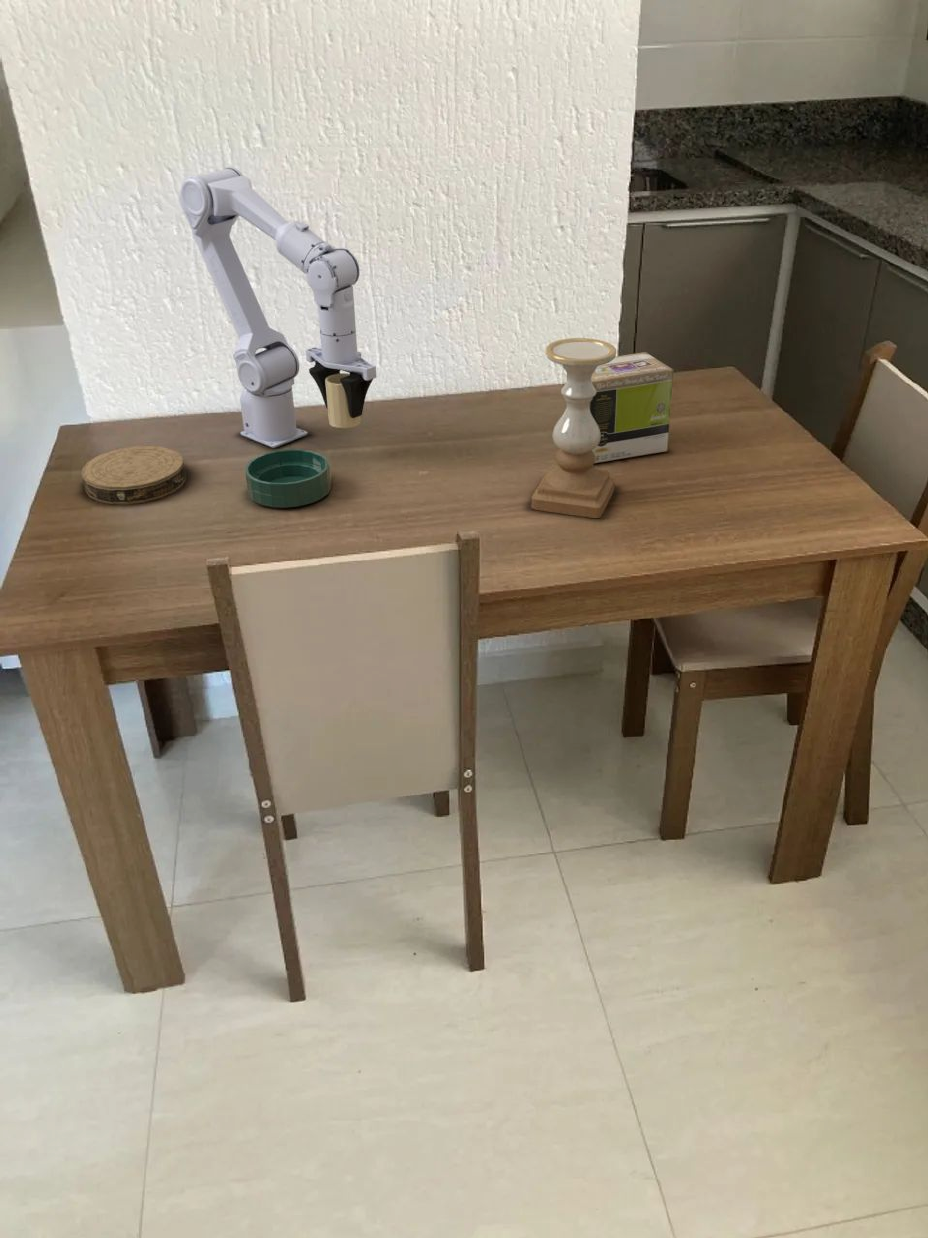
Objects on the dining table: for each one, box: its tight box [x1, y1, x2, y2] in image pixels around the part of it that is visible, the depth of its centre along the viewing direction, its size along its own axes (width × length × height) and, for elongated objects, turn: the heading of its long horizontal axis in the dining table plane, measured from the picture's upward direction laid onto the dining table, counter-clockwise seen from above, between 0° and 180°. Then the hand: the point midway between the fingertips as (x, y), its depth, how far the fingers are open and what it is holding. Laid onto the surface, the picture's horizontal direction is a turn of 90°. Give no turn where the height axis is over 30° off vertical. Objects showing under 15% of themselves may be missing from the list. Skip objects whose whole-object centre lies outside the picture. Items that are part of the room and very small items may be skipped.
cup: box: [325, 372, 362, 429], centre depth 168 cm, size 5×5×8 cm
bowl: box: [244, 448, 332, 509], centre depth 162 cm, size 13×13×4 cm
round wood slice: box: [81, 445, 187, 505], centre depth 166 cm, size 16×16×3 cm
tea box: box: [565, 351, 674, 464], centre depth 171 cm, size 15×10×15 cm, turn 108°
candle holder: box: [530, 337, 617, 519], centre depth 153 cm, size 11×11×24 cm
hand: (344, 411), depth 169 cm, fingers closed on cup, 5 cm apart
